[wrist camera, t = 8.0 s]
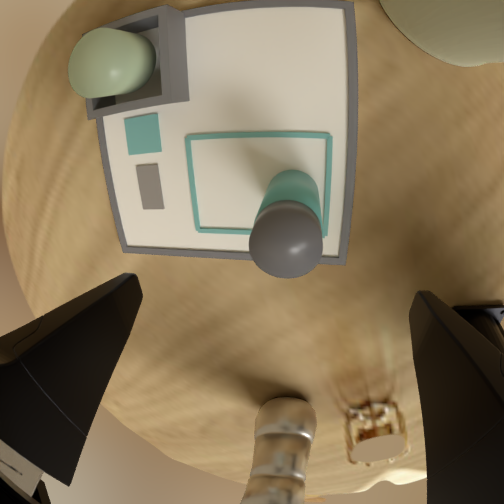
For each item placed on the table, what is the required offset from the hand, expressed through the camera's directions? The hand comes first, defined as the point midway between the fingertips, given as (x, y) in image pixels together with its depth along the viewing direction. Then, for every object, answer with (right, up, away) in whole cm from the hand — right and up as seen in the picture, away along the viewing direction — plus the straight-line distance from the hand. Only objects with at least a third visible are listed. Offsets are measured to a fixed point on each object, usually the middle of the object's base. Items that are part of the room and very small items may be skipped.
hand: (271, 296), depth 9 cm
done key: (-7, +11, +4) cm, 14 cm away
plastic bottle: (+3, -15, +20) cm, 26 cm away
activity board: (-3, +8, +7) cm, 11 cm away
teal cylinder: (+2, +5, +8) cm, 9 cm away
